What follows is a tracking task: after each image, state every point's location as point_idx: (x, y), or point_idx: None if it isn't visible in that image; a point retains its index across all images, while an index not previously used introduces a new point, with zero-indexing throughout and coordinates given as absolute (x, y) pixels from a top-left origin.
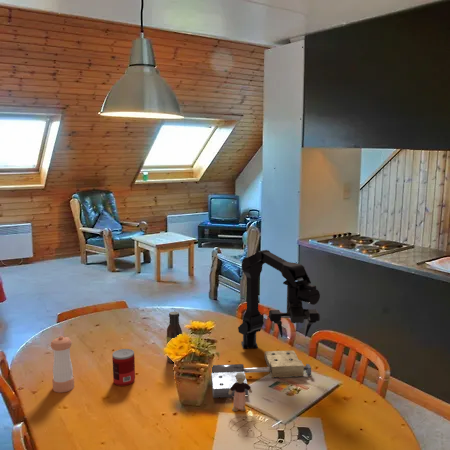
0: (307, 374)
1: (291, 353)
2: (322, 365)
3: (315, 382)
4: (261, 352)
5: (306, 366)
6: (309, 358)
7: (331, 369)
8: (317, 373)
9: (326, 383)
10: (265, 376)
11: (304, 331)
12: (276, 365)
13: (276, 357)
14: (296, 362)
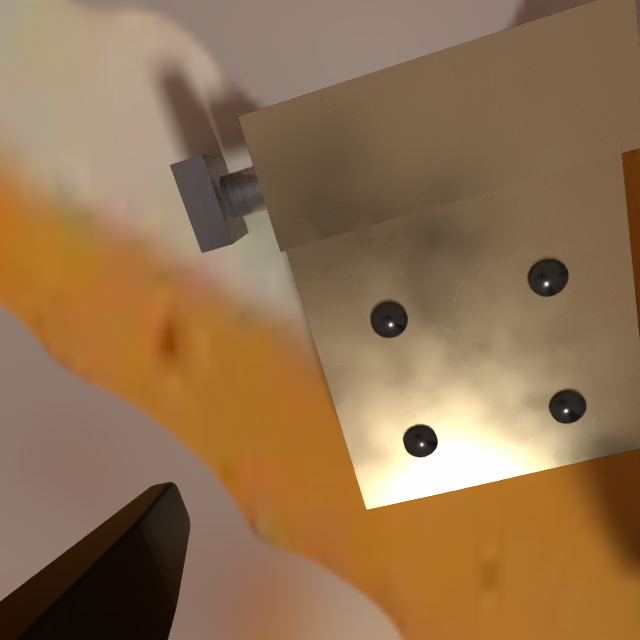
0: (225, 171)
1: (388, 448)
2: (127, 385)
3: (144, 48)
4: (623, 514)
5: (223, 194)
6: (239, 480)
7: (47, 330)
8: (148, 235)
9: (45, 50)
10: None
11: (172, 614)
12: (573, 38)
13: (537, 340)
14: (328, 182)
